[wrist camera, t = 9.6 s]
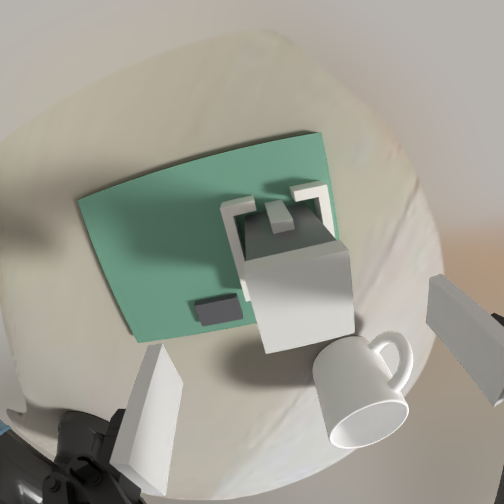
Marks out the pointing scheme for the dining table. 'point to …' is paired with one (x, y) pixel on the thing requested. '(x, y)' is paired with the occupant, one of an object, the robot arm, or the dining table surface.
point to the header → (247, 204)
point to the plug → (296, 278)
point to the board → (193, 234)
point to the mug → (361, 389)
